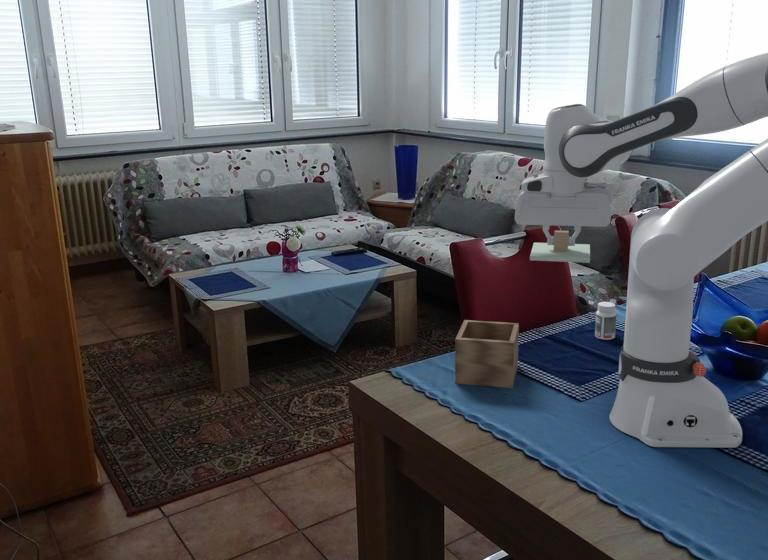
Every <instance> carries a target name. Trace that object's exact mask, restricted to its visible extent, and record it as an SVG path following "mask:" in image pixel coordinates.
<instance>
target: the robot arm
mask: <svg viewBox="0 0 768 560" xmlns="http://www.w3.org/2000/svg"><path fill="white" fill-rule="evenodd" d="M767 117H768V52H765V53H762V54H757V55H754V56H751V57H747V58H744V59H742V60H739V61H736V62H732V63H731V64H728V65H726V66H723V67H721V68H719V69H716V70H714V71H712V72H710V73H708V74H706V75H705V76H702V77H701V78H699V79H698V80H695V81H694V82H692V83H691V84H689V85H687V86H686V87H684V88H682V89H680V90H679V91H677V92H675V93H674V94H672V95H670V96H668V97H666V98H665V99H663V100H661V101H660V102H658V103H656V104H654V105H651V106H650V107H648V108H645V109H643V110H639V111H637V112H634V113H632V114H629V115H627V116H623V117H622V118H618V119H616V120H611V119H607V118H604V117H603V116H601V115H598V114H596V113H594V112H593V111H591V110H590V109H589V108H588V107H587V106H586V105H585V104H582V103H575V104H574V103H573V104H569V105H564V106H558V107H555V108H553V109H551V110H550V111H549V112H548V115H547V117H546V119H545V120H546V121H545V127H544V136H543V137H544V138H543V150H544V163H543V166H542V173H539V174H535V175H533V176H529V177H526V178H524V180H523V181H521V192H520V193H519V195H518V197H517V201H516V205H515V211H514V221H515V222H516V224H517V225H522V226H523V225H526V226H527V225H528V226H529V225H530V226H534V225H535V226H542V231H543V234H544V235H545V237H546V239H547V240H546V243H547V245H554V235H552V234H550V232H549V230H550V226H557V227H558V226H561V227H562V226H565V227H566V226H567V227H573V230H574V233H573V234H572V236H568V246H575V244H576V238H578V236H579V235H580V233H581V232H582V231H581V230H582V227H595V228H599V227H600V228H601V227H602V228H604V227H605V228H606V227H608V226H609V225H610V224H611V218H612V217H611V216H612V215H611V203H613V201H614V196H615V195H614V194H615V192H614V188H613V186H611V185H609V184H608V183H607V182H588V181H587V182H586V178H588V177H591V176H594V175H596V174H598V173H601V172H605V171H608V170H611V169H614V168H617V167H619V166H621V165H623V164H625V163H626V162H627V161H628V160H629V159H630V157H631V155H632V154H633V151H635V150H636V149H639V148H643V147H644V146H649V145H650V144H653V143H656V142H660V141H664V140H668V139H673V138H676V139H677V138H680V137H681V138H682V137H693V136H701V135H709V134H717V133H720V132H725V131H730V130H732V129H736V128H737V129H738V128H740V127H742V126H747V125H749V124H751V123H754V122H756V121H757V122H758V121H759V120H761V119H764V118H767ZM766 222H768V138H766V139H765V140H764V141H762V142H760V143H759V144H757V145H756V146H754V147H752V148H750V149H749V150H748V151H746V152H745V153H743V154H741V156H739V157H737V158H736V159H734V160H733V161H731V162H730V163H729V164H727V165H726V166H724V167H723V168H721V169H720V170H718V171H717V172H715V173H713V174H712V175H711V176H710V177H707V178H706V179H705V180H704V181H702V183H701V184H700V185H699V186H698V187H697V188H695V189H694V190H693V191H692V192H690V194H688V195H687V196H686V197H685V198H684V199H682V200H681V201H680V202H678V203H677V204H676V205H674V206H673V207H672V208H667V207H660V208H655V209H653V210H650V211H648V212H646V213H644V214H643V215H642V216H641V217H639V219H638V220H637V221H636V222H635V224H634V226H633V228H632V231H631V234H630V245H629V246H630V248H629V264H628V277H627V290H626V291H627V294H626V304H625V305H626V308H625V320H624V321H625V322H624V333H623V334H624V335H623V345H622V346H621V347H620V353H619V361H618V376H619V383H618V387H617V392H616V395H615V400H614V403H613V406H612V409H611V411H610V413H609V418H608V419H609V421H610V423H611V424H612V425H613V426H614V427H615V428H616V429H617V430H619V431H621V432H623V433H625V434H627V435H629V436H630V437H631V436H632V437H634V438H635V439H638V440H640V441H641V442H643V443H644V444H645V445H647V446H650V447H653V448H731V449H732V448H733V449H734V448H738V447H739V446H740V445H741V444H742V442H743V428H742V426H741V424H740V422H739V420H738V419H737V417H736V416H734V414H733V413H731V412H730V406H729V403H728V400H727V398H726V396H725V394H724V393H723V392H722V390H721V389H720V388H719V387H718V386H717V385H715V384H714V383H712V382H711V381H709V379H707V378H706V377H704V376H705V375H706V373H707V368H706V366H705V364H704V363H703V362H701V359H700V357H699V356H697V353H695V351H694V350H693V351H692V352H691V351H690V345H691V344H690V343H691V336H692V324H693V314H694V286H695V285H694V282H695V276H696V275H697V274H699V273H700V272H701V271H702V270H704V269H705V268H707V267H708V266H710V264H712V263H714V261H716V260H717V259H718V258H720V257H721V256H722V255H723V254H724V253H725V252H726V251H728V250H729V249H730V248H731V247H732V246H734V245H735V244H736V243H738V241H740V240H741V239H743V238H744V237H745V236H746V235H747V234H750V233H751V232H752V231H753V230H755V229H757V228H758V227H761V226H762V225H763V224H765V223H766Z"/></svg>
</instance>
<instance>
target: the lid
mask: <svg viewBox="0 0 768 560" xmlns="http://www.w3.org/2000/svg"><path fill="white" fill-rule="evenodd" d="M569 234H570V232H569V230H554V233H553V236H554V245H547V242H533V244H532V248H531V251H530V255H529V261H538V262H539V261H541V262H564V263H566V262H567V263H588V264H590V262H591V244H590V243H589V244H587V243H583V244H582V243H575V246H568V237H570V236H569Z"/></svg>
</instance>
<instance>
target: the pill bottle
mask: <svg viewBox="0 0 768 560" xmlns="http://www.w3.org/2000/svg"><path fill="white" fill-rule="evenodd" d="M594 324H595V328H594V336H595V337H596V339H599V340H604V341H610V340H613V339H615V338H616V328H617V326H616V325H617V312H616V304H615V303H614V302H611V301H600V302H598V303H597V310H596V313H595V323H594Z"/></svg>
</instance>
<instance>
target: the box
mask: <svg viewBox="0 0 768 560" xmlns="http://www.w3.org/2000/svg"><path fill="white" fill-rule="evenodd" d="M519 331H520V323H518V322H505V321H486V320H485V321H484V320H471V319H470V320H469V319H464V320H463V322H462V324H461V326H460V328H459V330H458V333H457V335H456V337H455V340H454V341H455V342H454V343H455V347H454V349H455V350H454V351H455V353H454V359H455V361H454V363H455V365H454V370H455V371H454V372H455V374H454V375H455V379H454V382H455V384H458V385H467V386H468V385H470V386H480V387H481V386H483V387H494V388H495V387H496V388H507V389H513V388H514V384H515V380H516V375H517V371H518V367H519V343H520V342H519V338H520V336H519V335H520V333H519Z"/></svg>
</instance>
